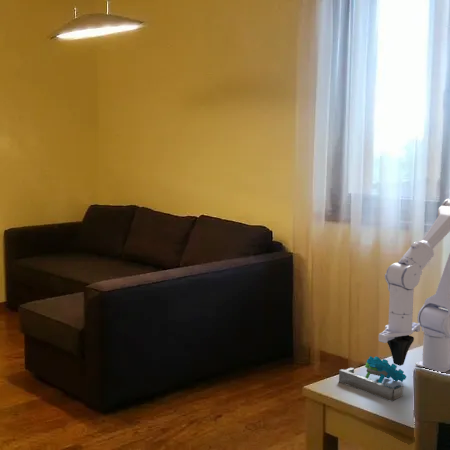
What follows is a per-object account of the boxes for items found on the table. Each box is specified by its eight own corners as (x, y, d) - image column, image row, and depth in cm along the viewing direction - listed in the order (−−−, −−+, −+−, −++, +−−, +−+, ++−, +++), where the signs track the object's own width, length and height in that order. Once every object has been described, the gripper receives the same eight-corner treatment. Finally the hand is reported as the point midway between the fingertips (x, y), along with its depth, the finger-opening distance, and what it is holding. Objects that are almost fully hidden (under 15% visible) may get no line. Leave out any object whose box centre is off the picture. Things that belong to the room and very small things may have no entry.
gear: (414, 380, 165) (393, 357, 161) (404, 401, 163) (382, 378, 159) (380, 372, 174) (358, 350, 170) (370, 392, 172) (348, 370, 168)
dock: (350, 377, 172) (351, 365, 171) (402, 396, 160) (403, 384, 159) (338, 381, 169) (339, 370, 168) (391, 401, 157) (391, 388, 157)
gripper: (404, 303, 176) (402, 353, 179) (369, 313, 167) (367, 366, 169) (428, 308, 171) (425, 360, 173) (393, 319, 162) (391, 374, 164)
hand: (398, 364), depth 171 cm, fingers closed
